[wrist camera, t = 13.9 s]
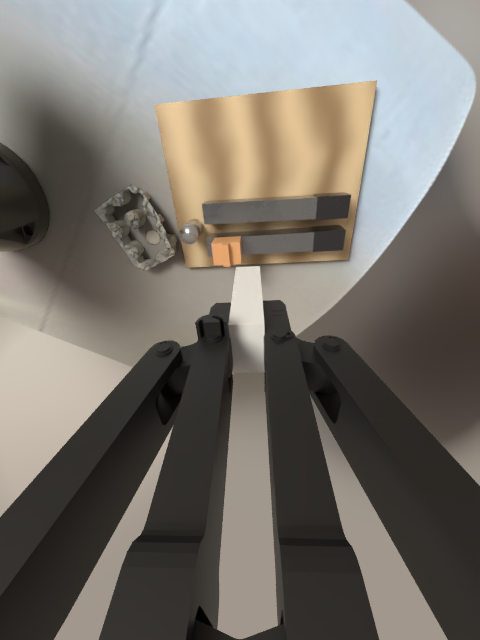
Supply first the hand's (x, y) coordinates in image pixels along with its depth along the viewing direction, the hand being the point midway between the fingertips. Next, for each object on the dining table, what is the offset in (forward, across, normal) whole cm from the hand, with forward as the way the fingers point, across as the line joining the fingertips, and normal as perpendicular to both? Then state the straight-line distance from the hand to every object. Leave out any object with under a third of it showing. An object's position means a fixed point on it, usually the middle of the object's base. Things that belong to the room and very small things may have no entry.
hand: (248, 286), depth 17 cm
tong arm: (+23, +3, +1) cm, 23 cm away
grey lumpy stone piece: (+25, -16, -1) cm, 29 cm away
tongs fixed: (+23, +2, -2) cm, 23 cm away
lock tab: (+20, -3, -3) cm, 20 cm away
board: (+24, +2, +3) cm, 24 cm away
